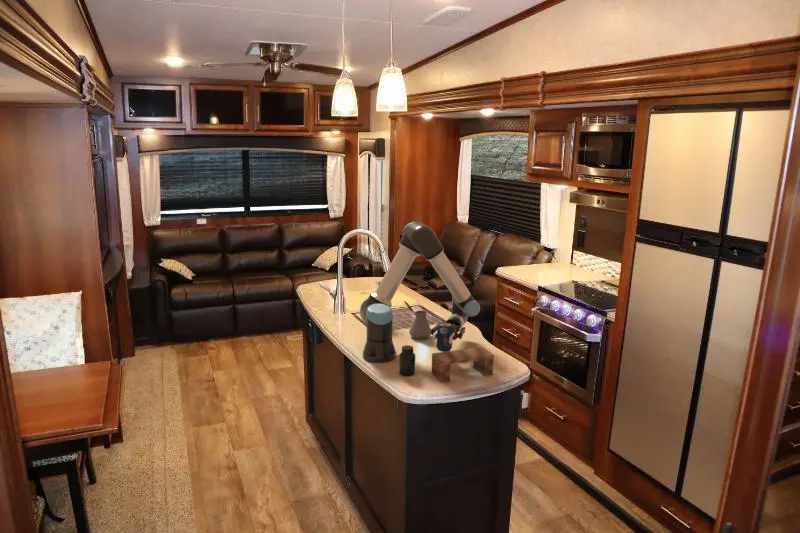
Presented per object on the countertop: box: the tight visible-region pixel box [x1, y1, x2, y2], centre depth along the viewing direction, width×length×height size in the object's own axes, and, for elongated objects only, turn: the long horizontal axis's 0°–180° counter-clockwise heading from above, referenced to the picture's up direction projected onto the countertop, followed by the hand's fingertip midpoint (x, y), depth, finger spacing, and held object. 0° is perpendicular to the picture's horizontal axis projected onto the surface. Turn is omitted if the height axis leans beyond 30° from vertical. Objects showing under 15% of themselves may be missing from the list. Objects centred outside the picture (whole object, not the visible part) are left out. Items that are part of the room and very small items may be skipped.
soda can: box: [436, 321, 453, 352], centre depth 245 cm, size 7×7×12 cm
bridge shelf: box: [431, 346, 495, 384], centre depth 231 cm, size 24×10×9 cm, turn 111°
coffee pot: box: [402, 301, 432, 340], centre depth 279 cm, size 21×12×15 cm, turn 32°
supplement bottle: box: [398, 344, 416, 378], centre depth 230 cm, size 7×7×12 cm
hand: (441, 339), depth 240 cm, fingers closed on soda can, 7 cm apart
